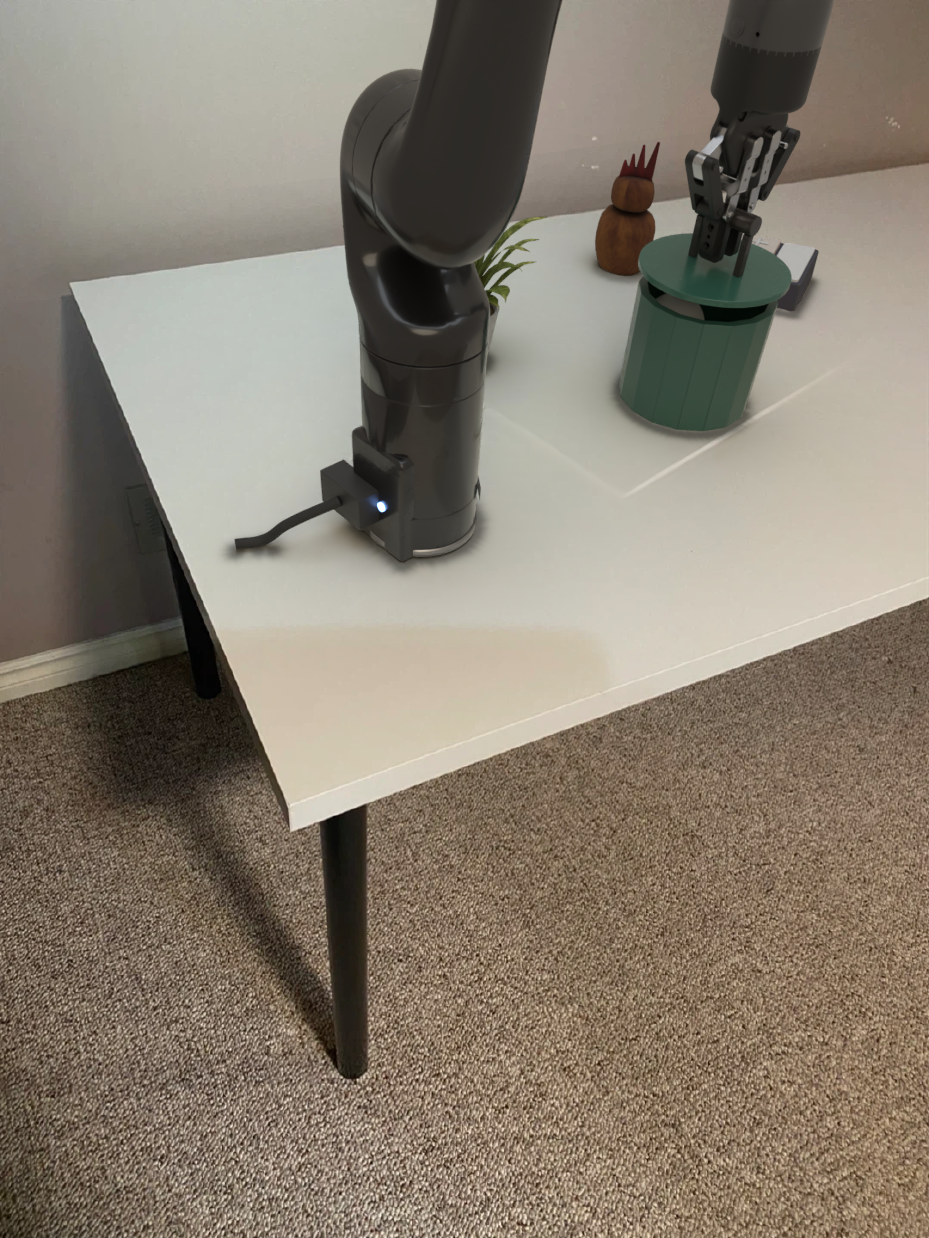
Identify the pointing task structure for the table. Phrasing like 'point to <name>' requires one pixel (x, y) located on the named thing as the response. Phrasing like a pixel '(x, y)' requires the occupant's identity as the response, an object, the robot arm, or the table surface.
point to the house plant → (483, 266)
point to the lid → (716, 268)
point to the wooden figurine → (627, 217)
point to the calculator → (791, 267)
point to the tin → (692, 361)
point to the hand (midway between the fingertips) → (717, 255)
